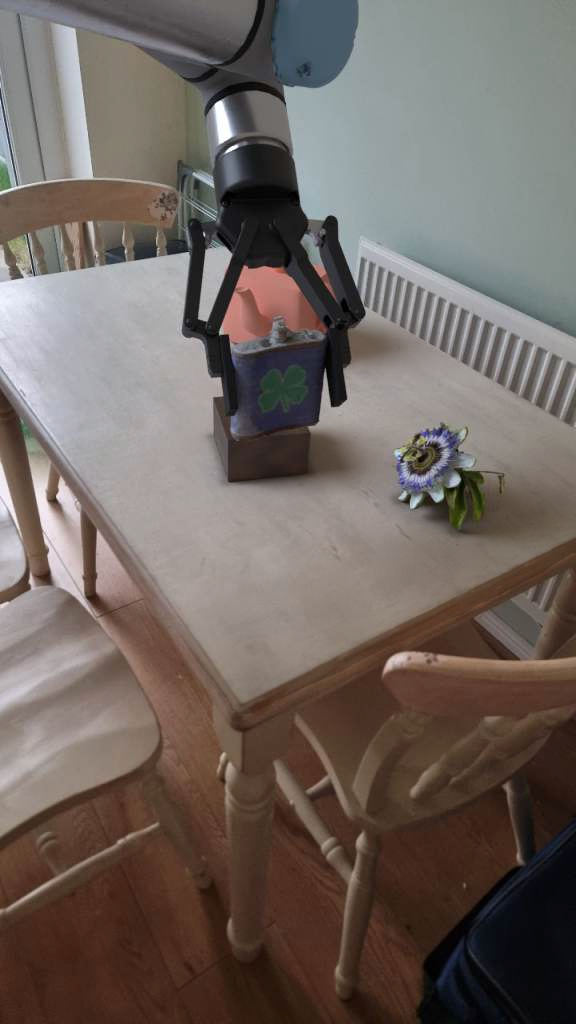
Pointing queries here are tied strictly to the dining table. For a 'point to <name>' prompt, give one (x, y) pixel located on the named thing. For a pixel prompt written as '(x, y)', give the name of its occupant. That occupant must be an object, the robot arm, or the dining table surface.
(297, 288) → the teapot
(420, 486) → the passion flower
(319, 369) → the flask
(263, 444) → the walnut block
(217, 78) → the robot arm
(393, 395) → the dining table surface
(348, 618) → the dining table surface
